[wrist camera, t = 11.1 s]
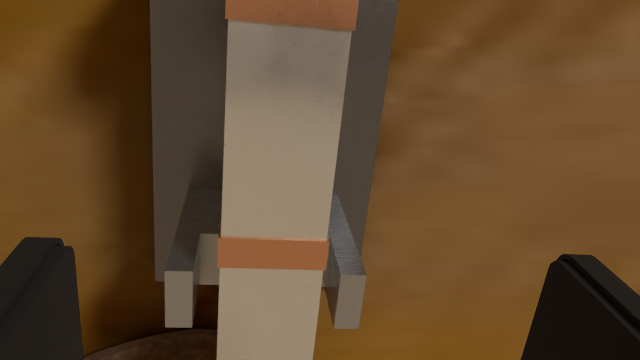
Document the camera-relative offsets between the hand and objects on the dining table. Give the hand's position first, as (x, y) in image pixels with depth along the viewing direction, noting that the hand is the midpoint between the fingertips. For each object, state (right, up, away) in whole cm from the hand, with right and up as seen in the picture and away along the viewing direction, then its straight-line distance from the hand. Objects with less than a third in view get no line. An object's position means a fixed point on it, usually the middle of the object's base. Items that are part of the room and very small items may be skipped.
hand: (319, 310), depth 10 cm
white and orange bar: (-2, +6, +14) cm, 15 cm away
